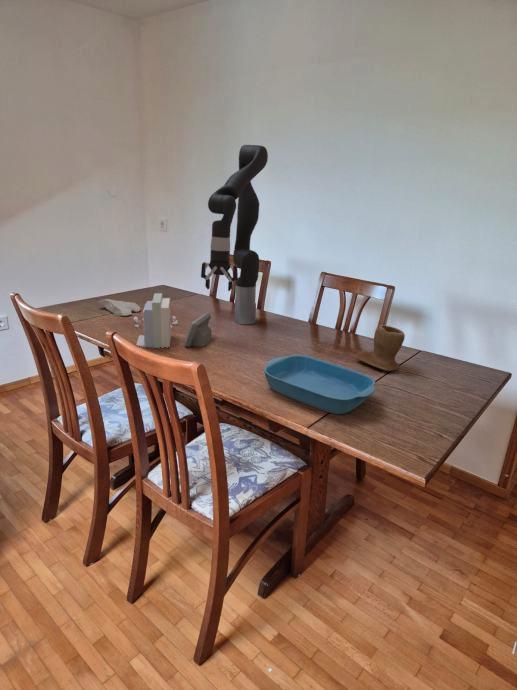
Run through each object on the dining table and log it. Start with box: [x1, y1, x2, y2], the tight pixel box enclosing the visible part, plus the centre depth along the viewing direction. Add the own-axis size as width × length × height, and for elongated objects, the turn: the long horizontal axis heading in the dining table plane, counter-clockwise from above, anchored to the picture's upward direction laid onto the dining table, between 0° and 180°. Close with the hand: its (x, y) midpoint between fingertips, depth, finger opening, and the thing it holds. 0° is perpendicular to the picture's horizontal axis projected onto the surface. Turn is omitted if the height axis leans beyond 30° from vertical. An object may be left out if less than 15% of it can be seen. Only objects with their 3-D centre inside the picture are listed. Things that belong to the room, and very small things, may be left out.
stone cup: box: [354, 324, 406, 372], centre depth 163 cm, size 15×12×15 cm
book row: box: [135, 292, 172, 349], centre depth 176 cm, size 13×14×18 cm
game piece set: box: [133, 316, 179, 331], centre depth 200 cm, size 19×20×4 cm
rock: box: [97, 298, 141, 317], centre depth 216 cm, size 21×5×15 cm
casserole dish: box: [263, 354, 376, 415], centre depth 141 cm, size 37×22×7 cm, turn 50°
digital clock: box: [183, 312, 213, 348], centre depth 179 cm, size 16×9×11 cm, turn 152°
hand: (218, 289), depth 179 cm, fingers open, 8 cm apart
